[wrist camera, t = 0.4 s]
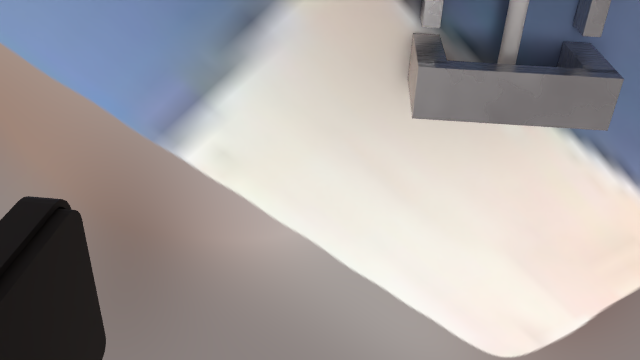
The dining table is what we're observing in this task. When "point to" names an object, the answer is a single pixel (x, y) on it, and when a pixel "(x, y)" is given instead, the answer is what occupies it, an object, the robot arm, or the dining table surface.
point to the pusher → (513, 31)
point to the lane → (516, 81)
